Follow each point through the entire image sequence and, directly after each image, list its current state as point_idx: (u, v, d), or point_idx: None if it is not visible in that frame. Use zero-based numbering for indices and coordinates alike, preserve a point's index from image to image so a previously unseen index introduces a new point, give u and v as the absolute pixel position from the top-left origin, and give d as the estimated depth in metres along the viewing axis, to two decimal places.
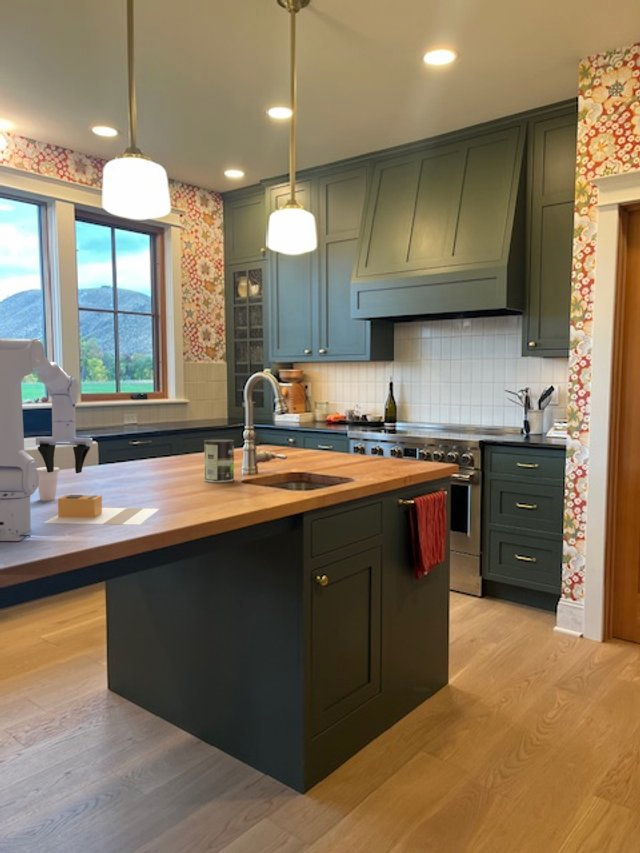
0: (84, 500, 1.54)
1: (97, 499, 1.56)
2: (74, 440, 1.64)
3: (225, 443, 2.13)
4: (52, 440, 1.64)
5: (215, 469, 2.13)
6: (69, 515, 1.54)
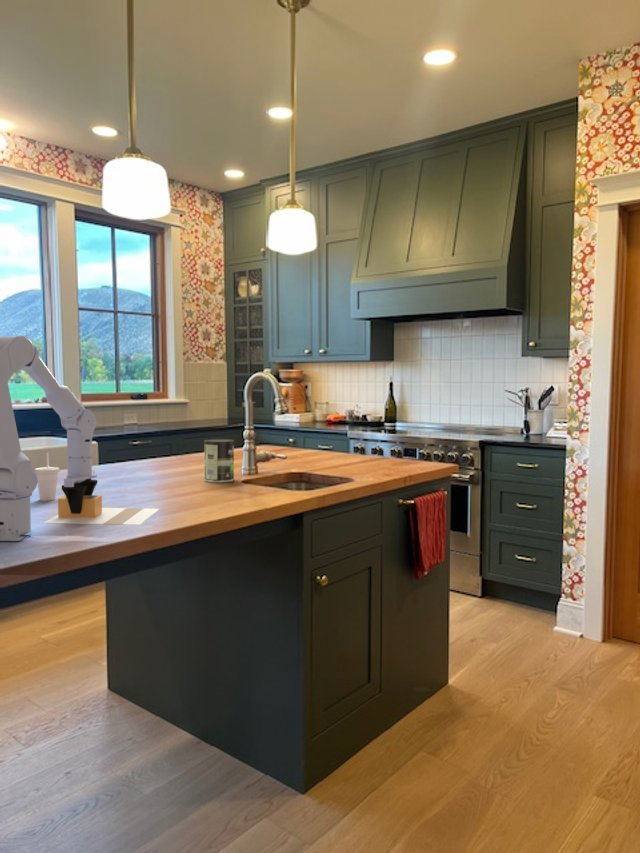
0: (84, 500, 1.54)
1: (97, 499, 1.56)
2: None
3: (225, 443, 2.13)
4: None
5: (215, 469, 2.13)
6: (69, 515, 1.54)
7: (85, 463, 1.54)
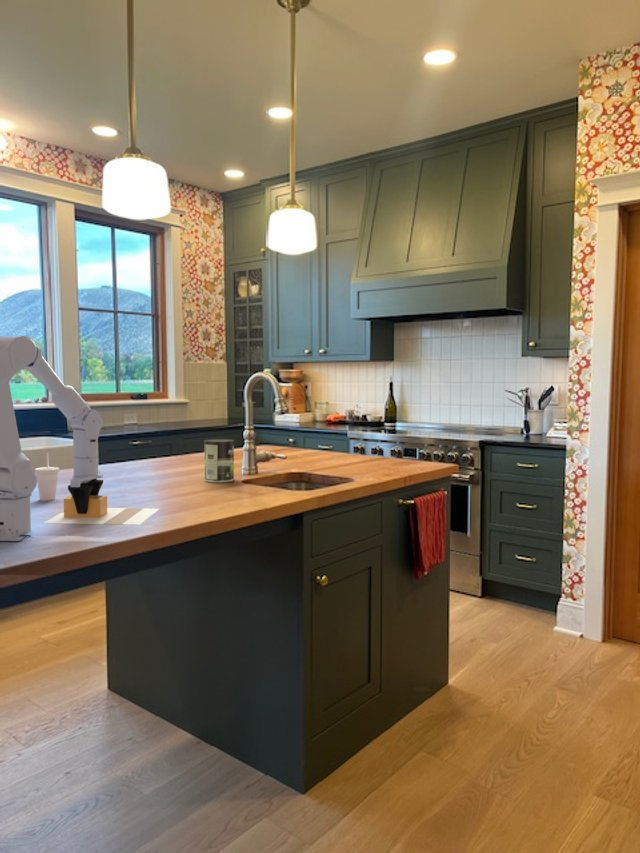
0: (90, 500, 1.54)
1: (103, 499, 1.56)
2: (72, 478, 1.52)
3: (225, 443, 2.13)
4: None
5: (215, 469, 2.13)
6: (75, 515, 1.54)
7: (92, 463, 1.54)
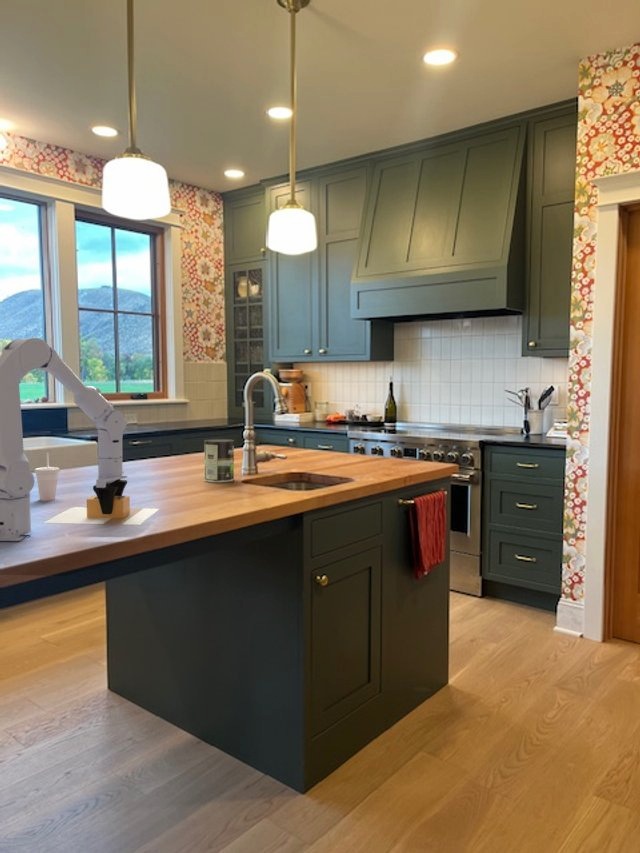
0: None
1: (125, 499, 1.56)
2: None
3: (225, 443, 2.13)
4: None
5: (215, 469, 2.13)
6: (98, 515, 1.54)
7: (116, 464, 1.54)
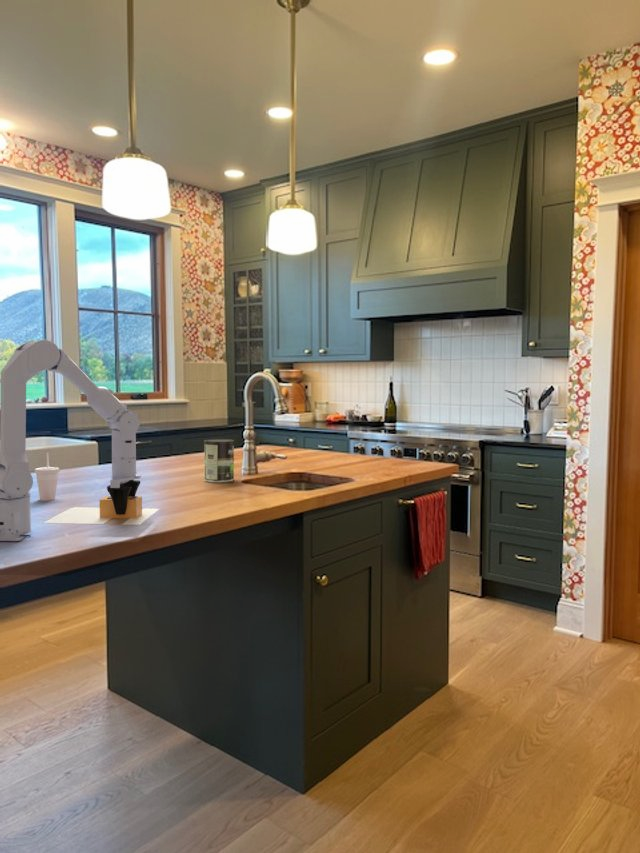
0: None
1: (138, 500, 1.56)
2: (111, 479, 1.52)
3: (225, 443, 2.13)
4: None
5: (215, 469, 2.13)
6: (110, 516, 1.54)
7: (130, 464, 1.54)
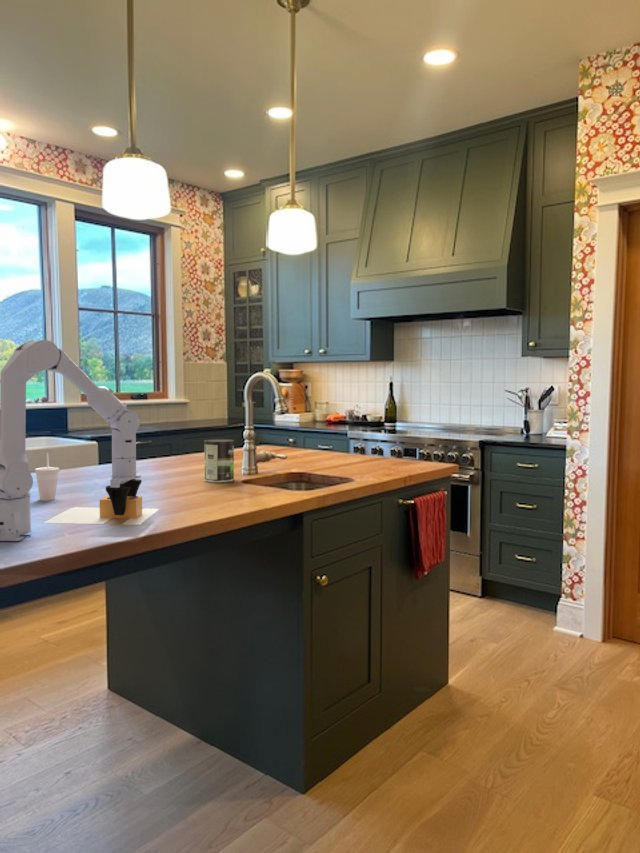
0: (126, 501, 1.54)
1: (138, 500, 1.56)
2: (111, 478, 1.52)
3: (225, 443, 2.13)
4: None
5: (215, 469, 2.13)
6: (111, 516, 1.54)
7: (130, 464, 1.54)
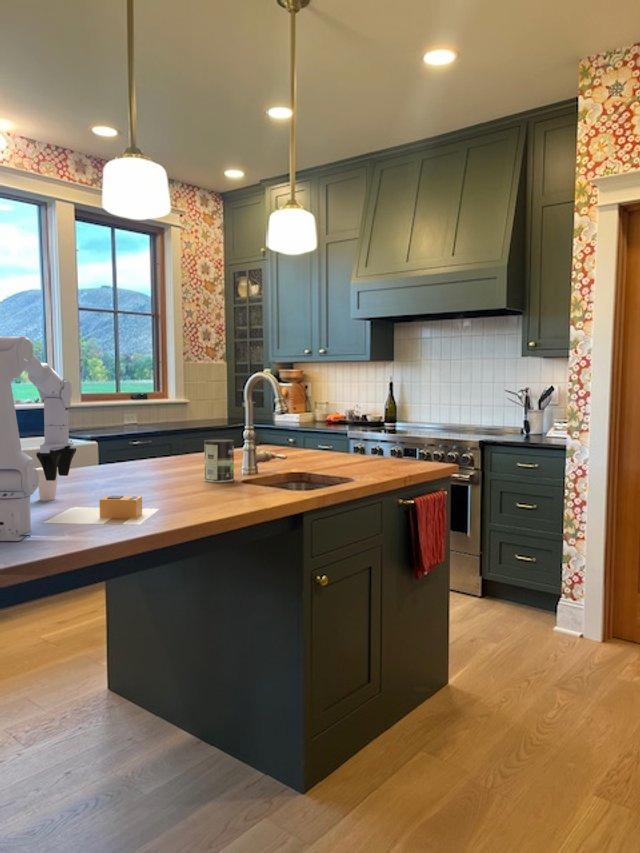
0: (126, 501, 1.54)
1: (138, 500, 1.56)
2: None
3: (225, 443, 2.13)
4: None
5: (215, 469, 2.13)
6: (111, 516, 1.54)
7: (62, 431, 1.58)
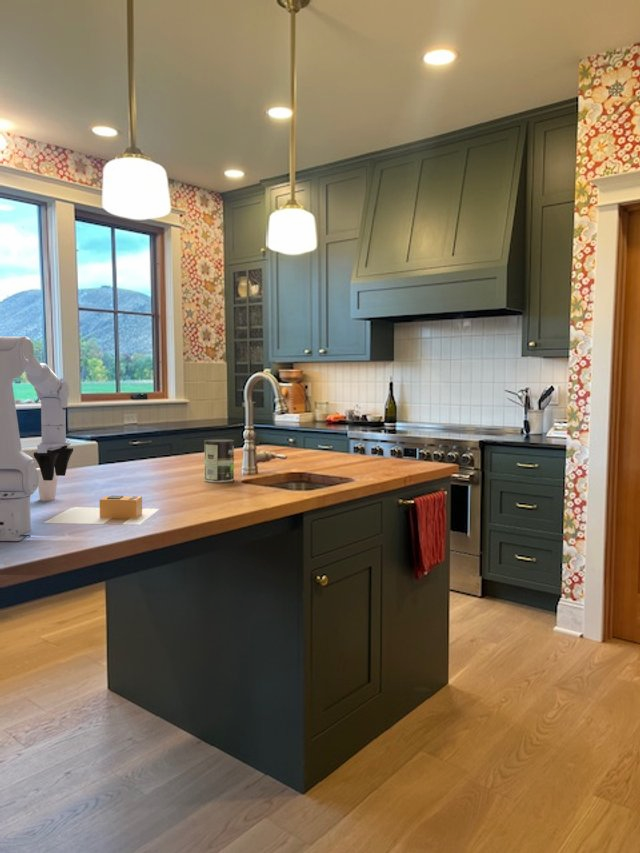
0: (126, 501, 1.54)
1: (138, 500, 1.56)
2: None
3: (225, 443, 2.13)
4: None
5: (215, 469, 2.13)
6: (111, 516, 1.54)
7: (59, 431, 1.58)
